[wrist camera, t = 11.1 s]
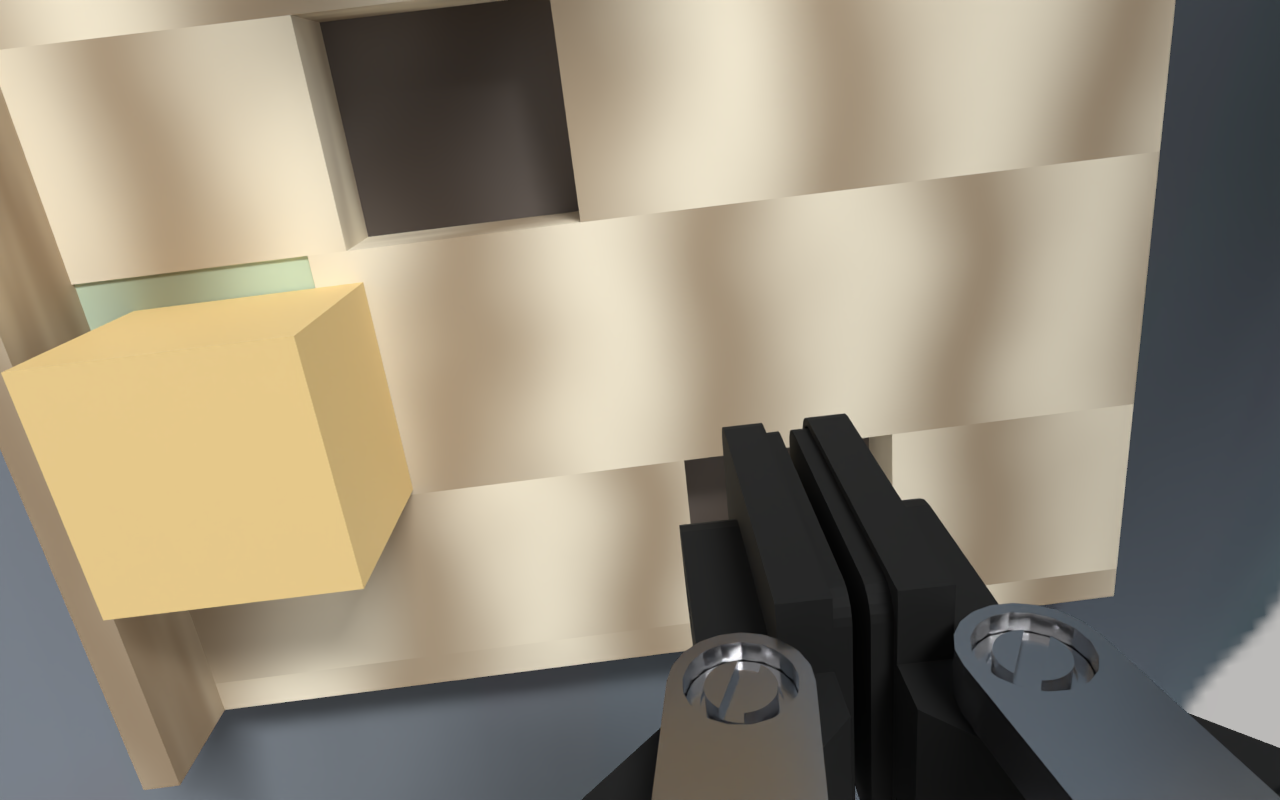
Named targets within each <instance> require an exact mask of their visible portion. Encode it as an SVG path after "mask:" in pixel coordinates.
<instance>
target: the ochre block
mask: <svg viewBox="0 0 1280 800" xmlns="http://www.w3.org/2000/svg"><path fill="white" fill-rule="evenodd" d="M1 374H2V377H3V379H4V381H5V384H6V386H7V389H8V391H9V394H10V396H11V398H12V401H13V403H14V406H15V408H16V410H17V413H18V415H19V418H20V420H21V423H22V425H23V427H24V430H25V432H26V435H27V437H28V439H29V442H30V444H31V447H32V449H33V452H34V454H35V456H36V459H37V461H38V464H39V466H40V469H41V471H42V473H43V476H44V478H45V481H46V483H47V485H48V488H49V490H50V493H51V495H52V498H53V500H54V502H55V505H56V507H57V510H58V512H59V514H60V517H61V519H62V522H63V524H64V527H65V529H66V531H67V534H68V536H69V539H70V541H71V544H72V546H73V548H74V551H75V553H76V556H77V558H78V560H79V563H80V565H81V568H82V570H83V573H84V575H85V577H86V580H87V582H88V585H89V587H90V590H91V592H92V594H93V597H94V599H95V602H96V604H97V606H98V609H99V611H100V614H101V616H102V619H103V620H112V619H120V618H128V617H136V616H145V615H153V614H161V613H169V612H178V611H186V610H194V609H202V608H211V607H219V606H227V605H235V604H244V603H252V602H260V601H268V600H277V599H285V598H293V597H301V596H310V595H318V594H326V593H334V592H343V591H351V590H359V589H364V588H365V586H366V584H367V582H368V580H369V578H370V576H371V574H372V572H373V570H374V568H375V565H376V563H377V561H378V559H379V557H380V555H381V553H382V551H383V549H384V547H385V545H386V543H387V541H388V539H389V537H390V535H391V533H392V531H393V529H394V527H395V525H396V523H397V521H398V519H399V517H400V515H401V513H402V511H403V509H404V507H405V505H406V503H407V501H408V499H409V497H410V495H411V493H412V491H413V487H412V483H411V479H410V475H409V470H408V466H407V462H406V458H405V454H404V450H403V446H402V441H401V437H400V433H399V429H398V425H397V421H396V416H395V412H394V408H393V404H392V400H391V396H390V391H389V387H388V383H387V379H386V375H385V371H384V367H383V362H382V358H381V354H380V350H379V346H378V342H377V337H376V333H375V329H374V325H373V321H372V317H371V313H370V308H369V304H368V300H367V296H366V292H365V288H364V283H363V282H360V283H352V284H344V285H337V286H329V287H321V288H313V289H305V290H297V291H289V292H281V293H273V294H265V295H257V296H249V297H241V298H233V299H225V300H217V301H209V302H201V303H193V304H185V305H177V306H169V307H161V308H153V309H145V310H137V311H133V312H130V313H128V314H126V315H124V316H122V317H120V318H117V319H115V320H113V321H111V322H109V323H107V324H105V325H102V326H100V327H98V328H96V329H94V330H92V331H89V332H87V333H85V334H83V335H81V336H79V337H77V338H74V339H72V340H70V341H68V342H66V343H64V344H61V345H59V346H57V347H55V348H53V349H51V350H49V351H46V352H44V353H42V354H40V355H38V356H36V357H33V358H31V359H29V360H27V361H25V362H23V363H21V364H18V365H16V366H14V367H12V368H10V369H8V370H5V371H3V372H1Z"/></svg>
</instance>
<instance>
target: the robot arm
mask: <svg viewBox="0 0 1280 800" xmlns="http://www.w3.org/2000/svg"><path fill="white" fill-rule="evenodd" d="M722 445H723V457H724V469H725V482H726V494H727V507H728V520H719V521H711V522H702V523H693V524H684V525H679V529H680V539H681V549H682V558H683V567H684V576H685V585H686V594H687V603H688V611H689V619H690V628H691V635H692V643H693V646H692V647H691V648H689V649H688V650H686V651H684V652H683V653H682V655H681V656H680V657H679V658H678V659H677V660H676V662H675V663H674V664H673V665H672V667H671V670H670V673H669V676H668V679H667V683H666V690H665V698H664V706H663V714H662V722H661V728H660V729H659V730H658V731H657V732H656V733H654V734H653V735H652V736H651V737H650V738H649V739H648V740H647V741H646V742H645V743H643V744H642V745H641V746H640V747H639V748H638V749H637V750H636V751H635V752H634V753H632V754H631V755H630V756H629V757H628V758H627V759H626V760H625V761H624V762H623V763H621V764H620V765H619V766H618V767H617V768H616V769H615V770H614V771H613V772H612V773H610V774H609V775H608V776H607V777H606V778H605V779H604V780H603V781H602V782H601V783H599V784H598V785H597V786H596V787H595V788H594V789H593V790H592V791H591V792H590V793H588V794H587V795H586V796H585V797H584V798H583V799H582V800H855V786H856V789H857V792H858V795H859V798H860V800H1280V748H1278V747H1276V746H1273V745H1270V744H1268V743H1265V742H1262V741H1260V740H1257V739H1255V738H1252V737H1249V736H1247V735H1244V734H1242V733H1239V732H1236V731H1233V730H1231V729H1228V728H1226V727H1223V726H1220V725H1218V724H1215V723H1212V722H1210V721H1207V720H1204V719H1202V718H1200V717H1197V716H1194V715H1192V714H1189V713H1187V712H1186V711H1185V710H1184V709H1183V708H1182V707H1181V706H1179V705H1178V704H1177V703H1176V702H1175V701H1174V700H1173V699H1172V698H1171V697H1170V696H1168V695H1167V694H1166V693H1165V692H1164V691H1163V690H1162V689H1161V688H1160V687H1159V686H1157V685H1156V684H1155V683H1154V682H1153V681H1152V680H1151V679H1150V678H1149V677H1148V676H1146V675H1145V674H1144V673H1143V672H1142V671H1141V670H1140V669H1139V668H1138V667H1137V666H1136V665H1134V664H1133V663H1132V662H1131V661H1130V660H1129V659H1128V658H1127V657H1126V656H1125V655H1123V654H1122V653H1121V652H1120V651H1119V650H1118V649H1117V648H1116V647H1115V646H1114V645H1112V644H1111V643H1110V642H1109V641H1108V640H1107V639H1106V638H1105V637H1104V636H1103V635H1101V634H1100V633H1099V632H1097V631H1096V630H1095V629H1093V628H1092V627H1090V626H1089V625H1088V624H1086V623H1085V622H1083V621H1082V620H1079V619H1077V618H1075V617H1073V616H1070V615H1068V614H1066V613H1064V612H1062V611H1058V610H1055V609H1051V608H1047V607H1043V606H1039V605H1032V604H1020V603H1007V604H998V602H997V601H996V599H995V598H994V597H993V595H992V594H991V592H990V591H989V589H988V588H987V587H986V585H985V584H984V582H983V581H982V579H981V578H980V576H979V575H978V574H977V572H976V571H975V569H974V568H973V566H972V565H971V564H970V562H969V561H968V559H967V558H966V556H965V555H964V554H963V552H962V551H961V549H960V548H959V546H958V545H957V543H956V542H955V541H954V539H953V538H952V536H951V535H950V533H949V532H948V531H947V529H946V528H945V526H944V525H943V523H942V522H941V520H940V519H939V518H938V516H937V515H936V513H935V512H934V510H933V509H932V508H931V506H930V505H929V504H928V503H927V502H926V501H925V500H924V499H921V498H917V499H908V500H901V498H900V497H899V495H898V494H897V492H896V490H895V489H894V487H893V486H892V484H891V483H890V481H889V480H888V478H887V476H886V475H885V473H884V472H883V470H882V469H881V467H880V466H879V464H878V462H877V461H876V459H875V458H874V456H873V455H872V453H871V451H870V450H869V448H868V447H867V445H866V444H865V442H864V441H863V439H862V437H861V436H860V434H859V433H858V431H857V430H856V428H855V427H854V425H853V423H852V422H851V420H850V419H849V417H848V416H847V415H846V414H845V413H843V414H834V415H826V416H817V417H808V418H804V420H803V427H802V429H794V430H790V434H789V446H790V455H789V453H788V450H787V448H786V446H785V444H784V441H783V439H782V437H781V434H780V432H779V431H777V432H768V433H766V430H765V428H764V425H763V424H762V423H755V424H746V425H737V426H728V427H722Z"/></svg>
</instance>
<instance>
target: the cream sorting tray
mask: <svg viewBox="0 0 1280 800" xmlns="http://www.w3.org/2000/svg"><path fill="white" fill-rule="evenodd" d="M1174 10H1175V0H0V449H1V452H2V454H3V457H4V459H5V461H6V464H7V466H8V468H9V471H10V473H11V476H12V478H13V480H14V483H15V485H16V487H17V490H18V492H19V495H20V497H21V499H22V502H23V504H24V506H25V509H26V511H27V514H28V516H29V518H30V521H31V523H32V525H33V528H34V530H35V533H36V535H37V537H38V540H39V542H40V544H41V547H42V549H43V552H44V554H45V556H46V559H47V561H48V563H49V566H50V568H51V571H52V573H53V575H54V578H55V580H56V582H57V585H58V587H59V590H60V592H61V594H62V597H63V599H64V601H65V604H66V606H67V609H68V611H69V613H70V616H71V618H72V621H73V623H74V625H75V628H76V630H77V632H78V635H79V637H80V640H81V642H82V644H83V647H84V649H85V651H86V654H87V656H88V659H89V661H90V663H91V666H92V668H93V670H94V673H95V675H96V678H97V680H98V682H99V685H100V687H101V689H102V692H103V694H104V697H105V699H106V701H107V704H108V706H109V708H110V711H111V713H112V716H113V718H114V720H115V723H116V725H117V727H118V730H119V732H120V735H121V737H122V739H123V742H124V744H125V746H126V749H127V751H128V754H129V756H130V758H131V761H132V763H133V765H134V768H135V770H136V773H137V775H138V777H139V780H140V782H141V784H142V787H143V789H144V790H147V789H155V788H163V787H171V786H178V785H180V784H181V783H182V781H183V779H184V778H185V776H186V774H187V773H188V771H189V769H190V767H191V766H192V764H193V762H194V761H195V759H196V757H197V756H198V754H199V752H200V751H201V749H202V747H203V746H204V744H205V742H206V741H207V739H208V737H209V736H210V734H211V732H212V731H213V729H214V727H215V725H216V724H217V722H218V720H219V719H220V717H221V715H222V714H223V712H224V710H228V709H235V708H243V707H251V706H259V705H267V704H274V703H282V702H290V701H298V700H306V699H313V698H321V697H329V696H337V695H345V694H352V693H360V692H368V691H376V690H384V689H391V688H399V687H407V686H415V685H423V684H430V683H438V682H446V681H454V680H462V679H469V678H477V677H485V676H493V675H501V674H509V673H516V672H524V671H532V670H540V669H548V668H555V667H563V666H571V665H579V664H587V663H594V662H602V661H610V660H618V659H626V658H633V657H641V656H649V655H657V654H665V653H672V652H680V651H686V650H688V649H689V648H691V647H692V646H693V643H692V635H691V628H690V619H689V611H688V603H687V594H686V585H685V576H684V567H683V558H682V549H681V539H680V529H679V525H684V524H693V523H702V522H711V521H719V520H728V507H727V494H726V482H725V469H724V457H723V445H722V427H728V426H737V425H746V424H755V423H762V424H763V425H764V428H765V430H766V433H768V432H777V431H779V432H780V434H781V437H782V439H783V441H784V444H785V446H786V448H787V450H788V453H789V455H790V446H789V434H790V430H794V429H802V427H803V420H804V418H808V417H817V416H826V415H834V414H843V413H845V414H846V415H847V416H848V417H849V419H850V420H851V422H852V423H853V425H854V427H855V428H856V430H857V431H858V433H859V434H860V436H861V437H862V439H863V441H864V442H865V444H866V445H867V447H868V448H869V450H870V451H871V453H872V455H873V456H874V458H875V459H876V461H877V462H878V464H879V466H880V467H881V469H882V470H883V472H884V473H885V475H886V476H887V478H888V480H889V481H890V483H891V484H892V486H893V487H894V489H895V490H896V492H897V494H898V495H899V497H900V498H901V500H908V499H917V498H921V499H924V500H925V501H926V502H927V503H928V504H929V505H930V506H931V508H932V509H933V510H934V512H935V513H936V515H937V516H938V518H939V519H940V520H941V522H942V523H943V525H944V526H945V528H946V529H947V531H948V532H949V533H950V535H951V536H952V538H953V539H954V541H955V542H956V543H957V545H958V546H959V548H960V549H961V551H962V552H963V554H964V555H965V556H966V558H967V559H968V561H969V562H970V564H971V565H972V566H973V568H974V569H975V571H976V572H977V574H978V575H979V576H980V578H981V579H982V581H983V582H984V584H985V585H986V587H987V588H988V589H989V591H990V592H991V594H992V595H993V597H994V598H995V599H996V601H997V602H998V604H1007V603H1020V604H1032V605H1047V604H1055V603H1063V602H1070V601H1078V600H1086V599H1094V598H1102V597H1109V596H1114V589H1115V579H1116V569H1117V560H1118V550H1119V540H1120V531H1121V521H1122V512H1123V502H1124V492H1125V483H1126V473H1127V463H1128V454H1129V444H1130V434H1131V425H1132V415H1133V405H1134V396H1135V386H1136V377H1137V367H1138V357H1139V348H1140V338H1141V328H1142V319H1143V309H1144V299H1145V290H1146V280H1147V270H1148V261H1149V251H1150V241H1151V232H1152V222H1153V213H1154V203H1155V193H1156V184H1157V174H1158V164H1159V155H1160V145H1161V135H1162V126H1163V116H1164V106H1165V97H1166V87H1167V77H1168V68H1169V58H1170V49H1171V39H1172V29H1173V20H1174ZM360 282H363V283H364V288H365V292H366V296H367V300H368V304H369V308H370V313H371V317H372V321H373V325H374V329H375V333H376V337H377V342H378V346H379V350H380V354H381V358H382V362H383V367H384V371H385V375H386V379H387V383H388V387H389V391H390V396H391V400H392V404H393V408H394V412H395V416H396V421H397V425H398V429H399V433H400V437H401V441H402V446H403V450H404V454H405V458H406V462H407V466H408V470H409V475H410V479H411V483H412V487H413V491H412V493H411V495H410V497H409V499H408V501H407V503H406V505H405V507H404V509H403V511H402V513H401V515H400V517H399V519H398V521H397V523H396V525H395V527H394V529H393V531H392V533H391V535H390V537H389V539H388V541H387V543H386V545H385V547H384V549H383V551H382V553H381V555H380V557H379V559H378V561H377V563H376V565H375V568H374V570H373V572H372V574H371V576H370V578H369V580H368V582H367V584H366V586H365V588H364V589H359V590H351V591H343V592H334V593H326V594H318V595H310V596H301V597H293V598H285V599H277V600H268V601H260V602H252V603H244V604H235V605H227V606H219V607H211V608H202V609H194V610H186V611H178V612H169V613H161V614H153V615H145V616H136V617H128V618H120V619H112V620H103V619H102V616H101V614H100V611H99V609H98V606H97V604H96V602H95V599H94V597H93V594H92V592H91V590H90V587H89V585H88V582H87V580H86V577H85V575H84V573H83V570H82V568H81V565H80V563H79V560H78V558H77V556H76V553H75V551H74V548H73V546H72V544H71V541H70V539H69V536H68V534H67V531H66V529H65V527H64V524H63V522H62V519H61V517H60V514H59V512H58V510H57V507H56V505H55V502H54V500H53V498H52V495H51V493H50V490H49V488H48V485H47V483H46V481H45V478H44V476H43V473H42V471H41V469H40V466H39V464H38V461H37V459H36V456H35V454H34V452H33V449H32V447H31V444H30V442H29V439H28V437H27V435H26V432H25V430H24V427H23V425H22V423H21V420H20V418H19V415H18V413H17V410H16V408H15V406H14V403H13V401H12V398H11V396H10V394H9V391H8V389H7V386H6V384H5V381H4V379H3V377H2V374H1V372H3V371H5V370H8V369H10V368H12V367H14V366H16V365H18V364H21V363H23V362H25V361H27V360H29V359H31V358H33V357H36V356H38V355H40V354H42V353H44V352H46V351H49V350H51V349H53V348H55V347H57V346H59V345H61V344H64V343H66V342H68V341H70V340H72V339H74V338H77V337H79V336H81V335H83V334H85V333H87V332H89V331H92V330H94V329H96V328H98V327H100V326H102V325H105V324H107V323H109V322H111V321H113V320H115V319H117V318H120V317H122V316H124V315H126V314H128V313H130V312H133V311H137V310H145V309H153V308H161V307H169V306H177V305H185V304H193V303H201V302H209V301H217V300H225V299H233V298H241V297H249V296H257V295H265V294H273V293H281V292H289V291H297V290H305V289H313V288H321V287H329V286H337V285H344V284H352V283H360Z"/></svg>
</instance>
